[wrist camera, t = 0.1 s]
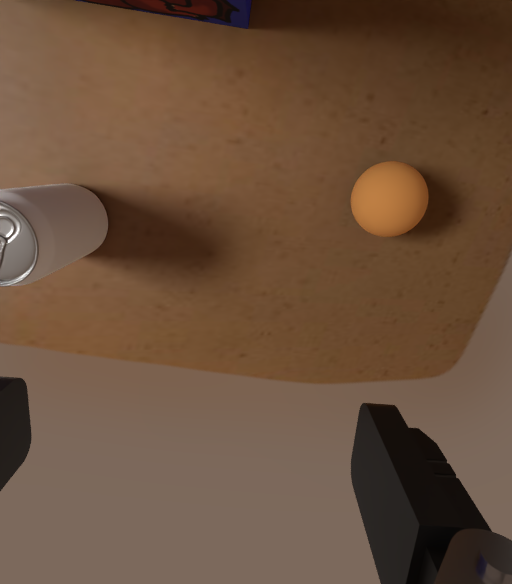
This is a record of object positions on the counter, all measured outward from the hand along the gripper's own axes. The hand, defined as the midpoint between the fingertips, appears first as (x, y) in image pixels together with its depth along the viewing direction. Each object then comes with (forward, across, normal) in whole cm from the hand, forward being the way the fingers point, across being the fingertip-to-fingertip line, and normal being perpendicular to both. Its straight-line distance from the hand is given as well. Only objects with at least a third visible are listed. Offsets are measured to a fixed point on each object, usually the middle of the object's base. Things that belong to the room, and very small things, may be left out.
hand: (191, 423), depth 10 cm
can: (+29, +15, 0) cm, 33 cm away
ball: (+26, -12, -4) cm, 29 cm away
